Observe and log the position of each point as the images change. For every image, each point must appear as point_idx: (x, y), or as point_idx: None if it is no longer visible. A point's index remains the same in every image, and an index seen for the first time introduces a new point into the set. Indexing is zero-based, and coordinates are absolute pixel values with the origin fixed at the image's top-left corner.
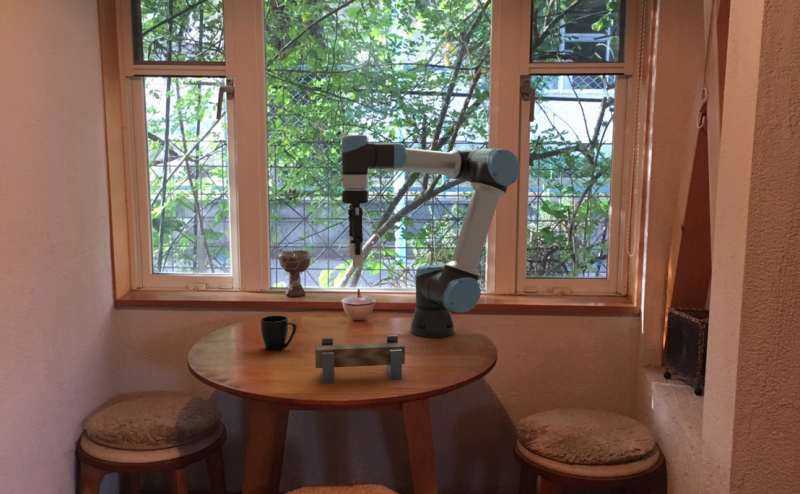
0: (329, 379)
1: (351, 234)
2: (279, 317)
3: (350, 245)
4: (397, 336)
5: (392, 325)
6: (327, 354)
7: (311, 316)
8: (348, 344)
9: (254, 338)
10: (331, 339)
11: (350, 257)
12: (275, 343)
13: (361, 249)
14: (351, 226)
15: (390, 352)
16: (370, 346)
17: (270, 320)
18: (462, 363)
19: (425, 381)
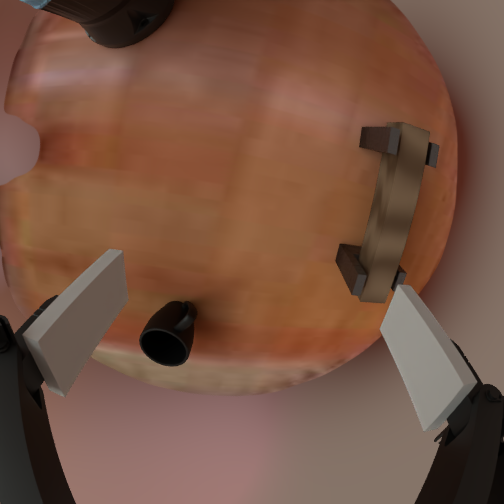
0: None
1: (33, 394)
2: (143, 336)
3: (90, 348)
4: (399, 130)
5: (69, 84)
6: (402, 283)
7: (17, 232)
8: (380, 240)
9: (124, 331)
10: (365, 276)
11: (124, 299)
12: (193, 323)
13: (453, 354)
14: (70, 496)
15: (433, 166)
16: (409, 200)
17: (147, 345)
18: (355, 9)
19: (426, 108)
